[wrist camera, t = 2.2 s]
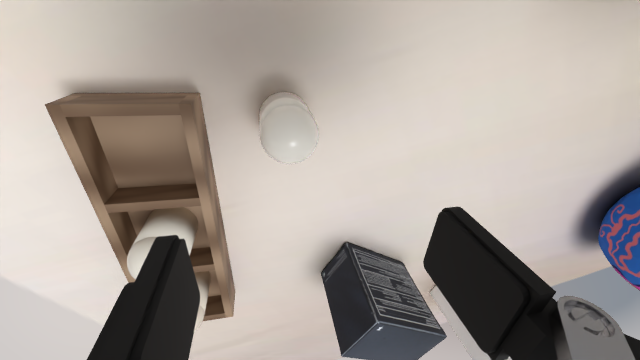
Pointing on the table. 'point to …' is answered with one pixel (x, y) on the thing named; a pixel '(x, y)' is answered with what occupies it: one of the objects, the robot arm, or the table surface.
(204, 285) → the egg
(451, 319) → the milk
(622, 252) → the ceramic pot
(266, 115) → the white rounded cylinder
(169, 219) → the egg middle
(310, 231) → the table surface
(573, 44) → the table surface
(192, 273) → the robot arm
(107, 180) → the crate
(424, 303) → the small box
